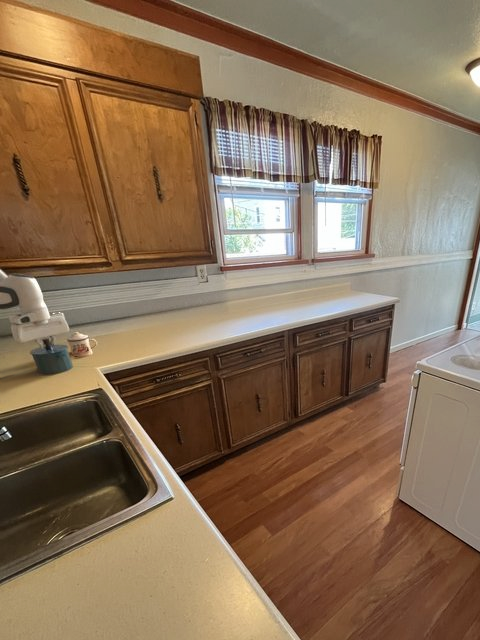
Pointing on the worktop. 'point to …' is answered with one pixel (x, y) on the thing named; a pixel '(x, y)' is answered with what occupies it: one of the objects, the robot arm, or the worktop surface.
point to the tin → (53, 363)
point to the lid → (48, 348)
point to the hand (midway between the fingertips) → (48, 347)
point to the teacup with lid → (80, 345)
